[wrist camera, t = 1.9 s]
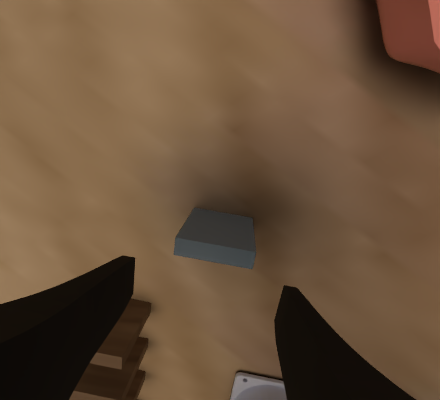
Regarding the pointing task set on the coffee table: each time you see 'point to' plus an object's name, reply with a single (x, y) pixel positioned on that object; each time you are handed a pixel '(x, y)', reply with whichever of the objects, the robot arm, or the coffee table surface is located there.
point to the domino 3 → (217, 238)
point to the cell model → (411, 31)
